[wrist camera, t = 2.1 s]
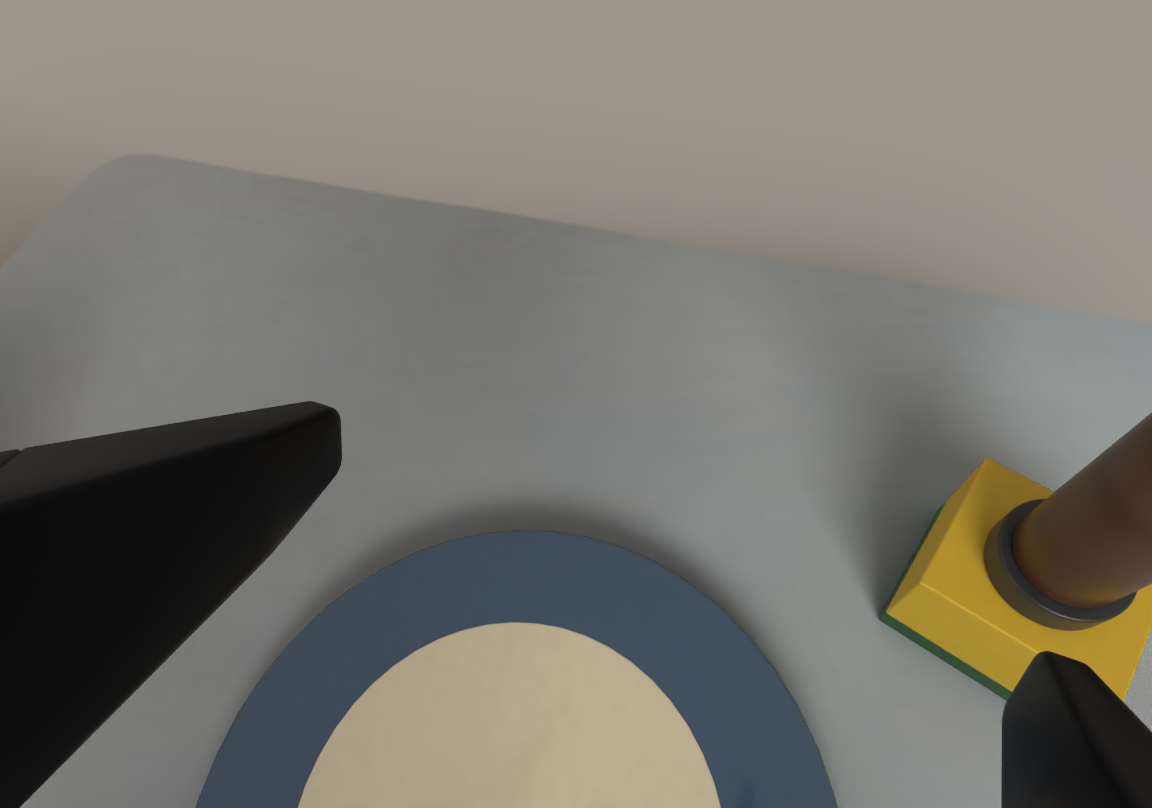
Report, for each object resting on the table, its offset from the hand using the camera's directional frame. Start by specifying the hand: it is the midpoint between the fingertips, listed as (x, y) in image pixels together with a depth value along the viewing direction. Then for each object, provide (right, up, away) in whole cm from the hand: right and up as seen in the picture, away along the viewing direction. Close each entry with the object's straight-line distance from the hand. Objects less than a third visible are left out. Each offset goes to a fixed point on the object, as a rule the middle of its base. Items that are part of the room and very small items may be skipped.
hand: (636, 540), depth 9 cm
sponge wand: (+12, -5, +13) cm, 18 cm away
